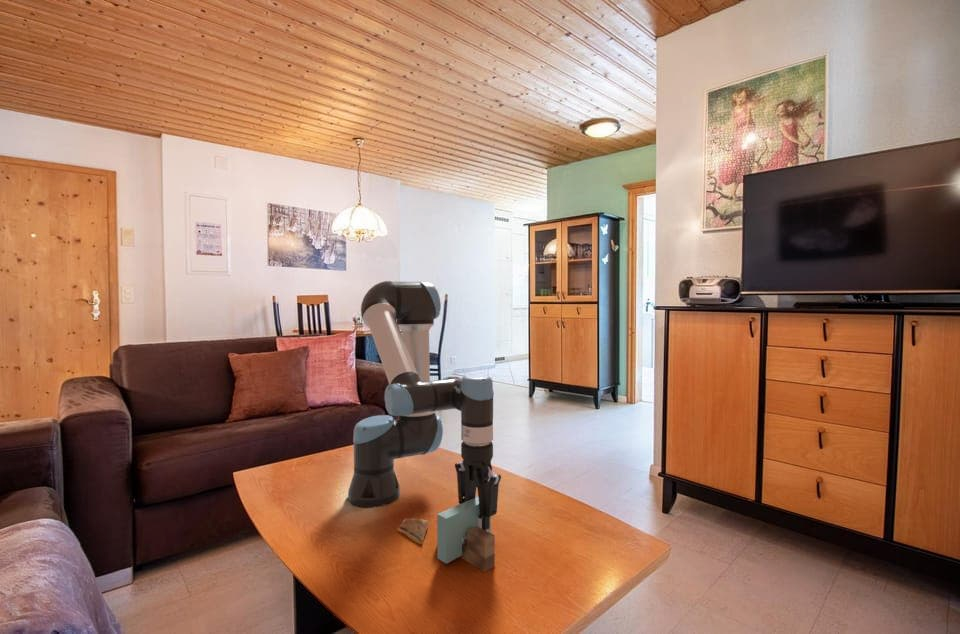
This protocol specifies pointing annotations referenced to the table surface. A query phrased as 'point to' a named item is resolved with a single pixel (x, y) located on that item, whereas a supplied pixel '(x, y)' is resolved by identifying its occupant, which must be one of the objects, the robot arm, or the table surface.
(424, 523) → the shard
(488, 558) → the walnut board
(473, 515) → the teal board
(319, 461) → the table surface
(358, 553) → the table surface
